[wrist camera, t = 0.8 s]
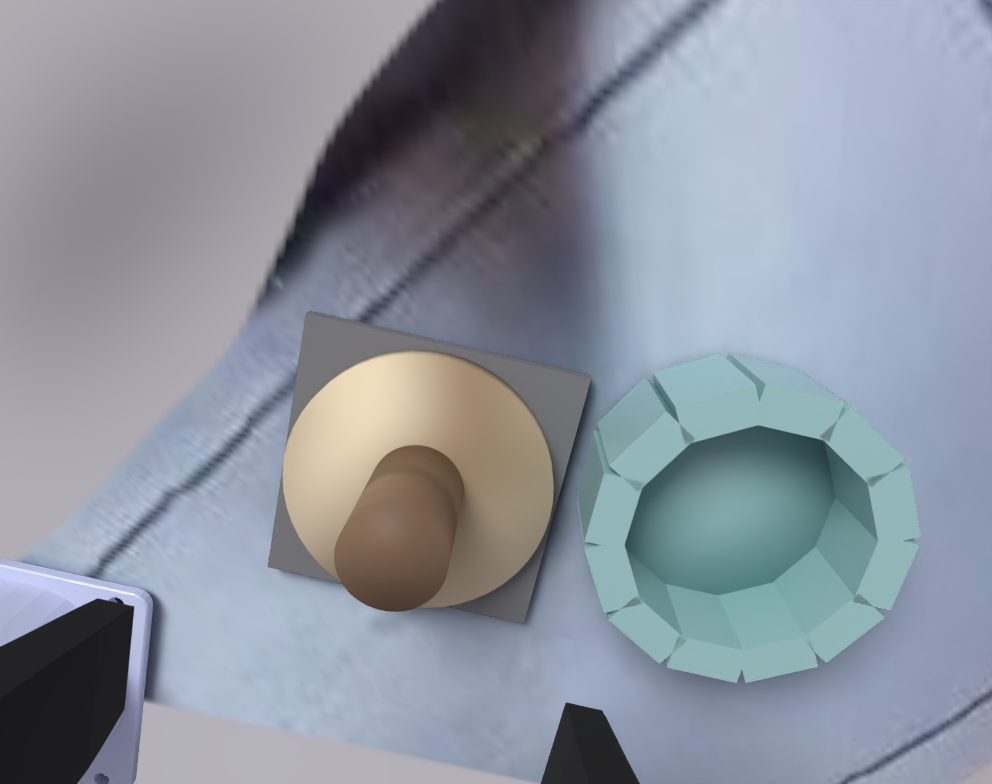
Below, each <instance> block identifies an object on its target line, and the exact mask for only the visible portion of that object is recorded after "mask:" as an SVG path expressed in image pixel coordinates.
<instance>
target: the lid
mask: <svg viewBox="0 0 992 784" xmlns="http://www.w3.org/2000/svg"><path fill="white" fill-rule="evenodd" d="M282 476H283V492H284V497H285V502H286V507H287V510H288V513H289V516H290V519H291V521H292V524H293V526H294V528H295V530H296V532H297V534H298V536H299V538H300V539H301V541H302V542H303V544H304V545H305V547H306V548H307V550H308V551H309V553H310V554H311V555H312V556H313V557H314V558H315V559H316V561H317V562H318V563H319V564H320V565H321V566H322V567H323V568H324V569H325V570H326V571H328V572H329V573H330V574H331V575H332V576H333V577H335V578H336V579H338V580H339V581H340V582H342V584H343V585H344V587H345V588H346V589H347V590H348V592H349V593H350V594H351V595H353V596H354V597H355V598H356V599H358V600H359V601H360V602H362V603H364V604H366V605H368V606H370V607H373V608H376V609H379V610H385V611H405V610H410V609H413V608H436V607H446V606H451V605H456V604H461V603H464V602H467V601H470V600H473V599H476V598H478V597H480V596H483V595H485V594H487V593H489V592H491V591H493V590H494V589H496V588H498V587H499V586H501V585H502V584H504V583H505V582H506V581H508V580H509V579H510V578H511V577H513V576H514V575H515V574H516V573H517V572H518V571H519V570H520V569H521V568H522V567H523V566H524V565H525V564H526V563H527V562H528V560H529V559H530V557H531V556H532V555H533V553H534V552H535V550H536V549H537V547H538V545H539V543H540V541H541V539H542V538H543V536H544V533H545V531H546V528H547V525H548V522H549V519H550V515H551V510H552V505H553V491H554V484H553V472H552V461H551V455H550V451H549V447H548V443H547V440H546V438H545V435H544V432H543V430H542V427H541V425H540V424H539V422H538V420H537V418H536V416H535V415H534V413H533V411H532V410H531V409H530V407H529V406H528V405H527V403H526V402H525V401H524V399H523V398H522V397H521V396H520V395H519V394H518V393H517V392H516V391H515V390H514V389H513V388H512V387H511V386H510V385H509V384H508V383H506V382H505V381H504V380H503V379H501V378H500V377H499V376H498V375H496V374H494V373H493V372H491V371H490V370H488V369H486V368H485V367H483V366H481V365H479V364H477V363H474V362H472V361H470V360H468V359H465V358H462V357H459V356H455V355H452V354H449V353H443V352H437V351H431V350H403V351H393V352H389V353H384V354H380V355H376V356H373V357H371V358H368V359H365V360H363V361H360V362H358V363H356V364H355V365H353V366H351V367H349V368H347V369H345V370H344V371H343V372H341V373H340V374H339V375H337V376H336V377H334V378H333V379H332V380H331V381H330V382H329V383H328V384H327V385H326V386H325V387H323V388H322V389H321V390H320V391H319V392H318V393H317V394H316V395H315V396H314V397H313V398H312V399H311V401H310V402H309V403H308V405H307V406H306V407H305V409H304V410H303V411H302V412H301V414H300V416H299V418H298V420H297V421H296V423H295V425H294V427H293V429H292V432H291V434H290V437H289V440H288V442H287V446H286V451H285V455H284V461H283V474H282Z"/></svg>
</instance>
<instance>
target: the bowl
mask: <svg viewBox="0 0 992 784" xmlns="http://www.w3.org/2000/svg"><path fill="white" fill-rule="evenodd" d="M653 375H654V379H655V383H656V386H655V385H654V384H653V383H652V382H651V381H650V380H649V379H647V378H646V377H644V378H643V379H642V380H641V381H640V382H639V383H638V384H637V385H636V386H635V387H634V388H633V389H632V390H631V391H630V392H629V393H628V394H627V395H626V396H625V397H624V398H623V399H621V400H620V401H619V402H618V403H617V404H616V405H615V406H614V407H613V408H612V409H611V410H610V411H609V412H608V413H607V414H606V415H605V416H604V417H603V418H602V419H601V420H600V421H599V422H598V423H597V425H598V428H599V431H595V430H593V431H592V435H591V438H590V442H589V446H588V449H587V453H586V456H585V460H584V463H583V467H582V471H581V474H580V478H579V481H578V485H577V488H576V491H577V497H576V498H577V505H578V511H579V518H580V525H581V531H582V538H583V544H584V550H585V554H586V557H587V560H588V563H589V567H590V570H591V573H592V576H593V580H594V583H595V586H596V590H597V593H598V596H599V599H600V603H601V606H602V609H603V612H604V613H607V616H608V620H609V621H610V622H611V623H612V624H613V625H615V626H616V627H617V628H618V629H619V630H620V631H622V632H623V633H624V634H625V635H626V636H627V637H629V638H630V639H631V640H632V641H633V642H634V643H636V644H637V645H638V646H639V647H640V648H641V649H643V650H644V651H645V652H646V653H647V654H648V655H650V656H651V657H652V658H653V659H654V660H655V661H656V662H658V663H659V664H660V663H661V662H662V661H664V660H665V662H666V666H667V668H671V669H675V670H680V671H684V672H689V673H693V674H698V675H702V676H707V677H711V678H716V679H720V680H725V681H729V682H734V683H737V681H738V678H739V676H740V673H741V674H742V676H743V678H744V681H745V683H748V682H753V681H757V680H762V679H766V678H771V677H775V676H780V675H784V674H789V673H793V672H797V671H802V670H806V669H811V668H815V667H818V664H817V660H816V655H815V653H816V654H817V655H818V656H819V657H820V658H821V659H823V660H824V661H825V662H826V663H827V662H828V661H830V660H831V659H832V658H834V657H835V656H836V655H837V654H839V653H840V652H841V651H843V650H844V649H845V648H846V647H848V646H849V645H850V644H852V643H853V642H854V641H855V640H857V639H858V638H859V637H861V636H862V635H863V634H864V633H866V632H867V631H868V630H870V629H871V628H872V627H874V626H875V625H876V624H877V623H879V622H880V621H881V620H883V619H884V618H885V617H884V616H883V614H882V613H881V612H880V611H879V610H878V608H882V609H886V610H891V609H892V606H893V604H894V602H895V600H896V597H897V595H898V593H899V591H900V588H901V586H902V584H903V582H904V579H905V577H906V575H907V573H908V570H909V568H910V566H911V564H912V561H913V559H914V557H915V555H916V552H917V550H918V548H919V544H918V543H917V542H916V541H915V540H914V539H913V538H917V537H921V535H920V529H919V523H918V517H917V511H916V505H915V499H914V493H913V487H912V481H911V475H910V469H909V467H908V466H907V465H905V464H904V463H903V461H904V460H905V459H904V458H903V457H902V456H901V455H900V454H899V453H898V452H897V451H896V450H895V449H894V448H893V447H892V446H891V445H890V444H889V443H888V442H887V441H886V440H885V439H884V438H883V437H882V436H881V435H880V434H879V433H878V432H877V431H876V430H875V429H874V428H873V427H872V426H871V425H870V424H869V423H868V422H867V421H866V420H865V419H864V418H863V417H862V416H861V415H860V414H859V413H858V412H857V411H856V410H855V409H854V408H853V407H852V406H851V405H849V404H848V403H846V402H845V401H844V400H842V399H841V398H839V397H838V396H836V395H835V394H833V393H832V392H831V391H829V390H828V389H826V388H825V387H823V386H822V385H820V384H819V383H818V382H816V381H815V380H813V379H812V378H810V377H809V376H807V375H806V374H805V373H802V372H800V371H799V370H797V369H796V368H792V367H788V366H783V365H779V364H775V363H770V362H766V361H762V360H758V359H753V358H749V357H745V356H740V355H736V354H732V353H729V355H728V358H727V359H726V358H725V357H724V356H723V355H722V354H721V353H719V354H716V355H712V356H708V357H705V358H701V359H698V360H694V361H691V362H687V363H684V364H680V365H677V366H673V367H669V368H666V369H662V370H659V371H655V372H653Z"/></svg>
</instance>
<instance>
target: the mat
mask: <svg viewBox="0 0 992 784" xmlns="http://www.w3.org/2000/svg"><path fill="white" fill-rule="evenodd" d="M403 350H431V351H437V352H443V353H449V354H452V355H455V356H459V357H462V358H465V359H468V360H470V361H472V362H474V363H477V364H479V365H481V366H483V367H485V368H486V369H488V370H490V371H491V372H493V373H494V374H496V375H498V376H499V377H500V378H501V379H503V380H504V381H505V382H506V383H508V384H509V385H510V386H511V387H512V388H513V389H514V390H515V391H516V392H517V393H518V394H519V395H520V396H521V397H522V398H523V399H524V401H525V402H526V403H527V405H528V406H529V407H530V409H531V410H532V411H533V413H534V415H535V416H536V418H537V420H538V422H539V424H540V425H541V427H542V430H543V432H544V435H545V438H546V440H547V443H548V447H549V451H550V455H551V461H552V472H553V484H554V491H553V505H552V510H551V515H550V519H549V522H548V525H547V528H546V531H545V533H544V536H543V538H542V539H541V541H540V543H539V545H538V547H537V549H536V550H535V552H534V553H533V555H532V556H531V557H530V559H529V560H528V562H527V563H526V564H525V565H524V566H523V567H522V568H521V569H520V570H519V571H518V572H517V573H516V574H515V575H514V576H513V577H511V578H510V579H509V580H508V581H506V582H505V583H504V584H502V585H501V586H499V587H498V588H496V589H494V590H493V591H491V592H489V593H487V594H485V595H483V596H480V597H478V598H476V599H473V600H470V601H467V602H464V603H461V604H456V605H451V606H446V607H450V608H454V609H459V610H463V611H468V612H472V613H477V614H481V615H486V616H490V617H495V618H499V619H504V620H508V621H513V622H517V623H522V624H524V622H525V618H526V614H527V611H528V607H529V603H530V600H531V596H532V592H533V589H534V585H535V581H536V578H537V574H538V570H539V567H540V563H541V560H542V556H543V552H544V549H545V545H546V541H547V538H548V534H549V530H550V527H551V523H552V519H553V516H554V512H555V509H556V505H557V501H558V498H559V494H560V490H561V487H562V483H563V479H564V476H565V472H566V468H567V465H568V461H569V457H570V454H571V450H572V447H573V443H574V439H575V436H576V432H577V428H578V425H579V421H580V417H581V414H582V410H583V406H584V403H585V399H586V395H587V392H588V388H589V385H590V381H591V377H590V375H587V374H582V373H578V372H574V371H569V370H565V369H561V368H556V367H552V366H548V365H543V364H539V363H535V362H530V361H526V360H522V359H517V358H513V357H509V356H504V355H500V354H496V353H491V352H487V351H483V350H478V349H474V348H470V347H465V346H461V345H457V344H452V343H448V342H444V341H439V340H435V339H430V338H426V337H422V336H417V335H413V334H409V333H404V332H400V331H396V330H391V329H387V328H383V327H378V326H374V325H370V324H365V323H361V322H357V321H352V320H348V319H344V318H339V317H335V316H331V315H326V314H322V313H318V312H313V311H309V312H307V313H306V317H305V323H304V330H303V337H302V343H301V350H300V356H299V363H298V370H297V376H296V383H295V390H294V396H293V403H292V409H291V416H290V423H289V429H288V436H287V442H288V440H289V437H290V434H291V432H292V429H293V427H294V425H295V423H296V421H297V420H298V418H299V416H300V414H301V412H302V411H303V410H304V409H305V407H306V406H307V405H308V403H309V402H310V401H311V399H312V398H313V397H314V396H315V395H316V394H317V393H318V392H319V391H320V390H321V389H322V388H323V387H325V386H326V385H327V384H328V383H329V382H330V381H331V380H332V379H333V378H334V377H336V376H337V375H339V374H340V373H341V372H343V371H344V370H345V369H347V368H349V367H351V366H353V365H355V364H356V363H358V362H360V361H363V360H365V359H368V358H371V357H373V356H376V355H380V354H384V353H389V352H393V351H403ZM286 446H287V443H286ZM285 451H286V449H285ZM282 474H283V469H282ZM268 567H270V568H274V569H279V570H283V571H288V572H292V573H297V574H301V575H306V576H310V577H315V578H319V579H324V580H328V581H333V582H337V583H342V582H340V581H339V580H338V579H336V578H335V577H333V576H332V575H331V574H330V573H329V572H328V571H326V570H325V569H324V568H323V567H322V566H321V565H320V564H319V563H318V562H317V561H316V559H315V558H314V557H313V556H312V555H311V554H310V553H309V551H308V550H307V548H306V547H305V545H304V544H303V542H302V541H301V539H300V538H299V536H298V534H297V532H296V530H295V528H294V526H293V524H292V521H291V519H290V516H289V513H288V510H287V507H286V502H285V497H284V492H283V476H281V482H280V489H279V496H278V502H277V509H276V516H275V522H274V529H273V535H272V542H271V549H270V555H269V562H268Z"/></svg>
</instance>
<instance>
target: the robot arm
mask: <svg viewBox="0 0 992 784" xmlns="http://www.w3.org/2000/svg"><path fill="white" fill-rule="evenodd" d="M115 597H117V598H119V599H121V600H122V601H123V602H124V604H121V603H118V602H117V601H116V600H115ZM152 612H153V600H152V598H151V596H150V595H149V594H148V593H147V592H146V591H144V590H142V589H139V588H135V587H130V586H126V585H121V584H117V583H112V582H108V581H103V580H98V579H94V578H89V577H85V576H80V575H76V574H71V573H67V572H62V571H58V570H53V569H49V568H44V567H40V566H35V565H31V564H26V563H22V562H17V561H13V560H8V559H3V558H0V784H133V783H134V781H135V779H136V772H137V762H138V752H139V741H140V732H141V721H142V711H143V702H144V692H145V682H146V672H147V662H148V652H149V642H150V632H151V622H152ZM104 774H105V775H106V776H105V775H104ZM541 784H640V783H639V782H638V780H637V778H636V776H635V774H634V772H633V770H632V768H631V766H630V764H629V762H628V760H627V758H626V756H625V754H624V752H623V750H622V748H621V746H620V744H619V742H618V740H617V738H616V736H615V734H614V732H613V730H612V728H611V726H610V724H609V722H608V720H607V718H606V716H605V715H604V713H603V711H602V710H597V709H593V708H588V707H584V706H579V705H575V704H570V703H566V704H565V707H564V710H563V714H562V717H561V720H560V723H559V727H558V730H557V733H556V736H555V739H554V743H553V746H552V749H551V752H550V756H549V759H548V762H547V765H546V769H545V772H544V775H543V778H542V781H541Z"/></svg>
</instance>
